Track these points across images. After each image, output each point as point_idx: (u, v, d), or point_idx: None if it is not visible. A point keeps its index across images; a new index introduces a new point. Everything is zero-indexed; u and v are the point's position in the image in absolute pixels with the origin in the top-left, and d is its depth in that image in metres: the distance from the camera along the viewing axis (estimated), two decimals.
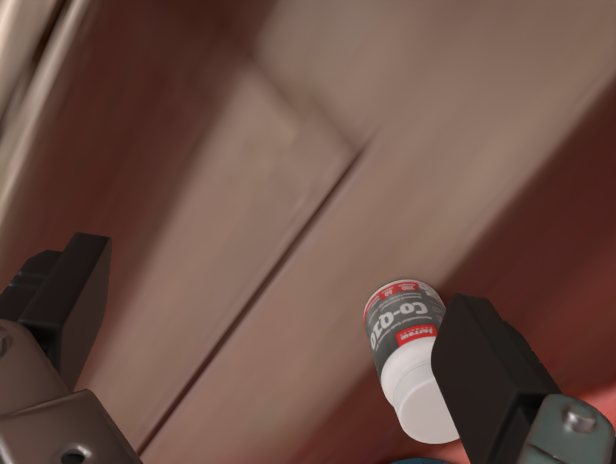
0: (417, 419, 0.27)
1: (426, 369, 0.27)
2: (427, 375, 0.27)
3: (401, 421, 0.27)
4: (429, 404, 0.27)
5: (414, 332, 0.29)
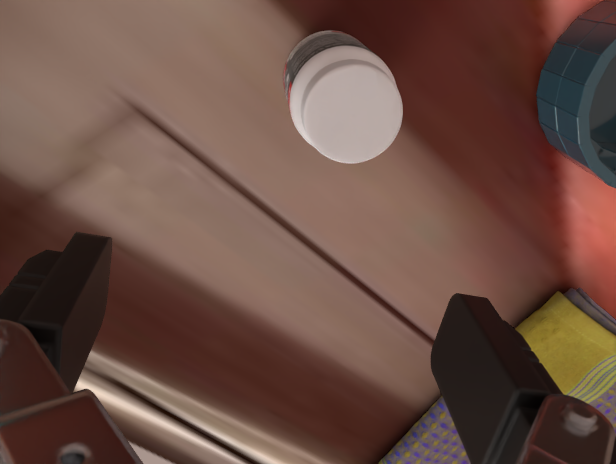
0: (358, 143, 0.24)
1: (302, 122, 0.24)
2: (304, 126, 0.24)
3: (356, 161, 0.24)
4: (339, 130, 0.23)
5: (289, 108, 0.26)
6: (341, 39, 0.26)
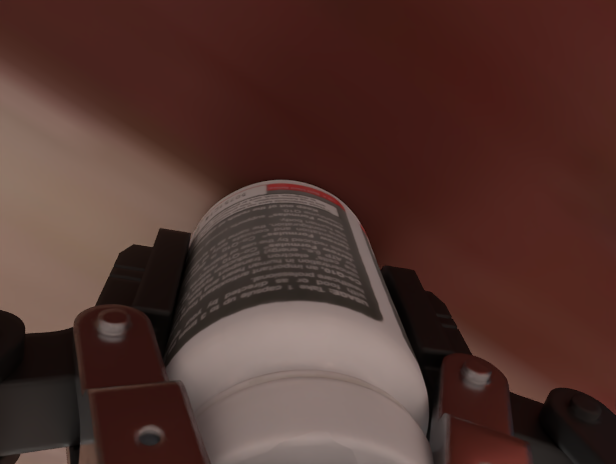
0: None
1: None
2: None
3: None
4: None
5: None
6: (272, 247, 0.11)
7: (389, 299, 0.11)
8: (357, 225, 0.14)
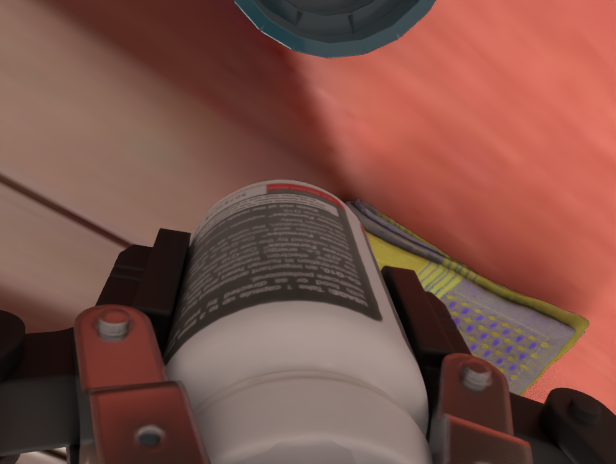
0: None
1: None
2: None
3: None
4: None
5: None
6: (272, 247, 0.11)
7: (389, 299, 0.11)
8: (357, 225, 0.14)
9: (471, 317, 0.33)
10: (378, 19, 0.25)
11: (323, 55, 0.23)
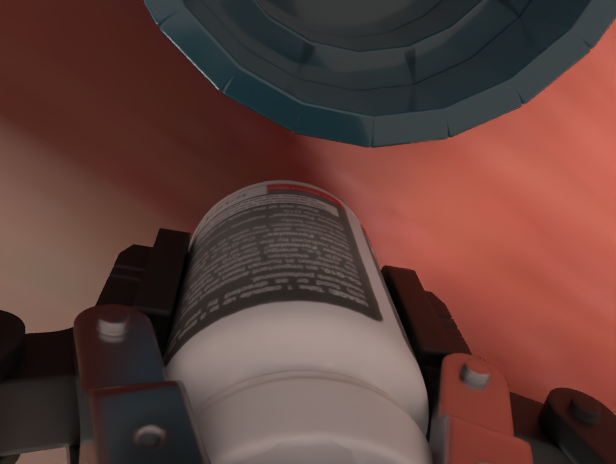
0: None
1: None
2: None
3: None
4: None
5: None
6: (273, 247, 0.11)
7: (389, 299, 0.11)
8: (358, 225, 0.14)
9: None
10: (465, 58, 0.12)
11: (359, 142, 0.11)
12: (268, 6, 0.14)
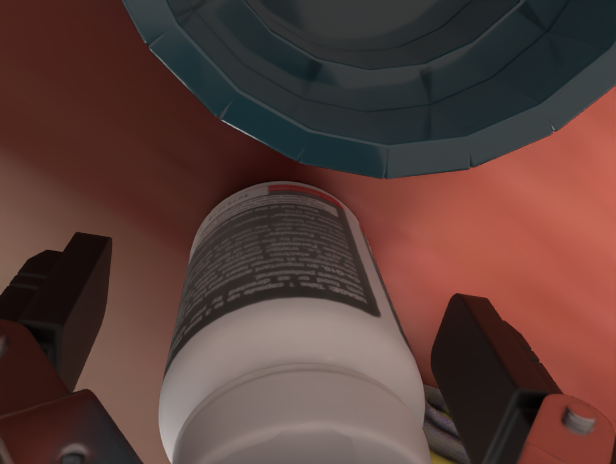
0: None
1: None
2: None
3: None
4: None
5: None
6: (274, 246, 0.11)
7: (387, 296, 0.12)
8: (356, 225, 0.14)
9: None
10: (486, 77, 0.11)
11: (372, 173, 0.10)
12: (270, 18, 0.13)
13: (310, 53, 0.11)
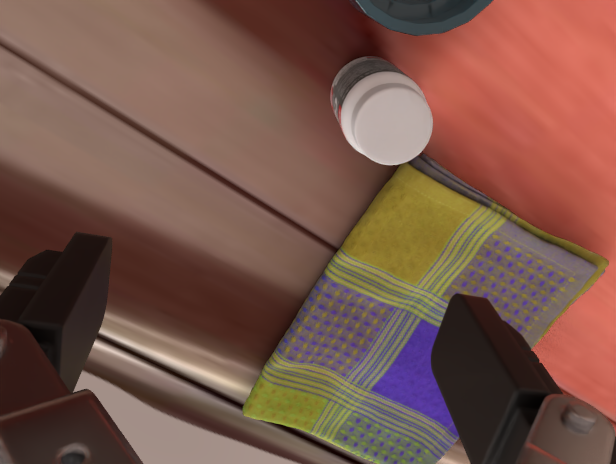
0: (399, 148, 0.30)
1: (354, 137, 0.30)
2: (355, 140, 0.30)
3: (400, 163, 0.30)
4: (383, 139, 0.30)
5: (341, 126, 0.32)
6: (376, 65, 0.33)
7: None
8: None
9: (512, 254, 0.41)
10: (450, 8, 0.33)
11: (412, 33, 0.31)
12: None
13: None
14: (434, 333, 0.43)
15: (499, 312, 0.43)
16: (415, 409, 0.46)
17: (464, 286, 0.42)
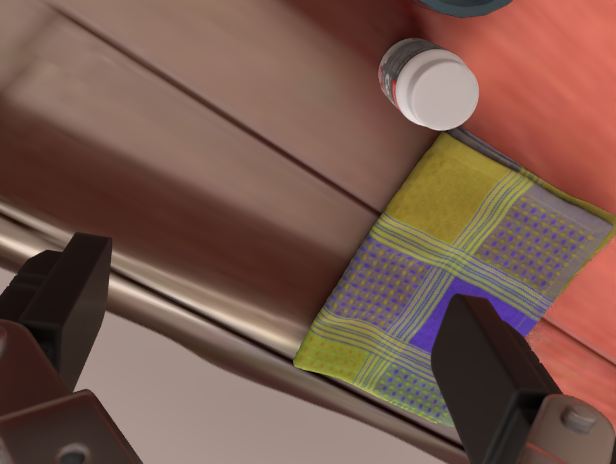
0: (450, 115, 0.35)
1: (409, 106, 0.35)
2: (411, 108, 0.35)
3: (449, 128, 0.35)
4: (436, 108, 0.34)
5: (394, 98, 0.37)
6: (424, 44, 0.37)
7: None
8: None
9: (537, 216, 0.45)
10: None
11: (458, 15, 0.35)
12: None
13: None
14: (467, 289, 0.48)
15: (525, 269, 0.48)
16: None
17: (494, 245, 0.46)
